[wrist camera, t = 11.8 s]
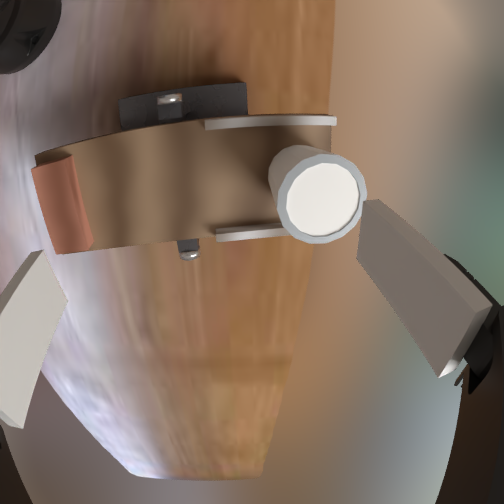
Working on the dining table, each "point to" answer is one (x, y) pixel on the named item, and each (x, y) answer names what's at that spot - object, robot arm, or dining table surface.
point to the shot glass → (316, 193)
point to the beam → (170, 181)
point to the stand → (183, 118)
